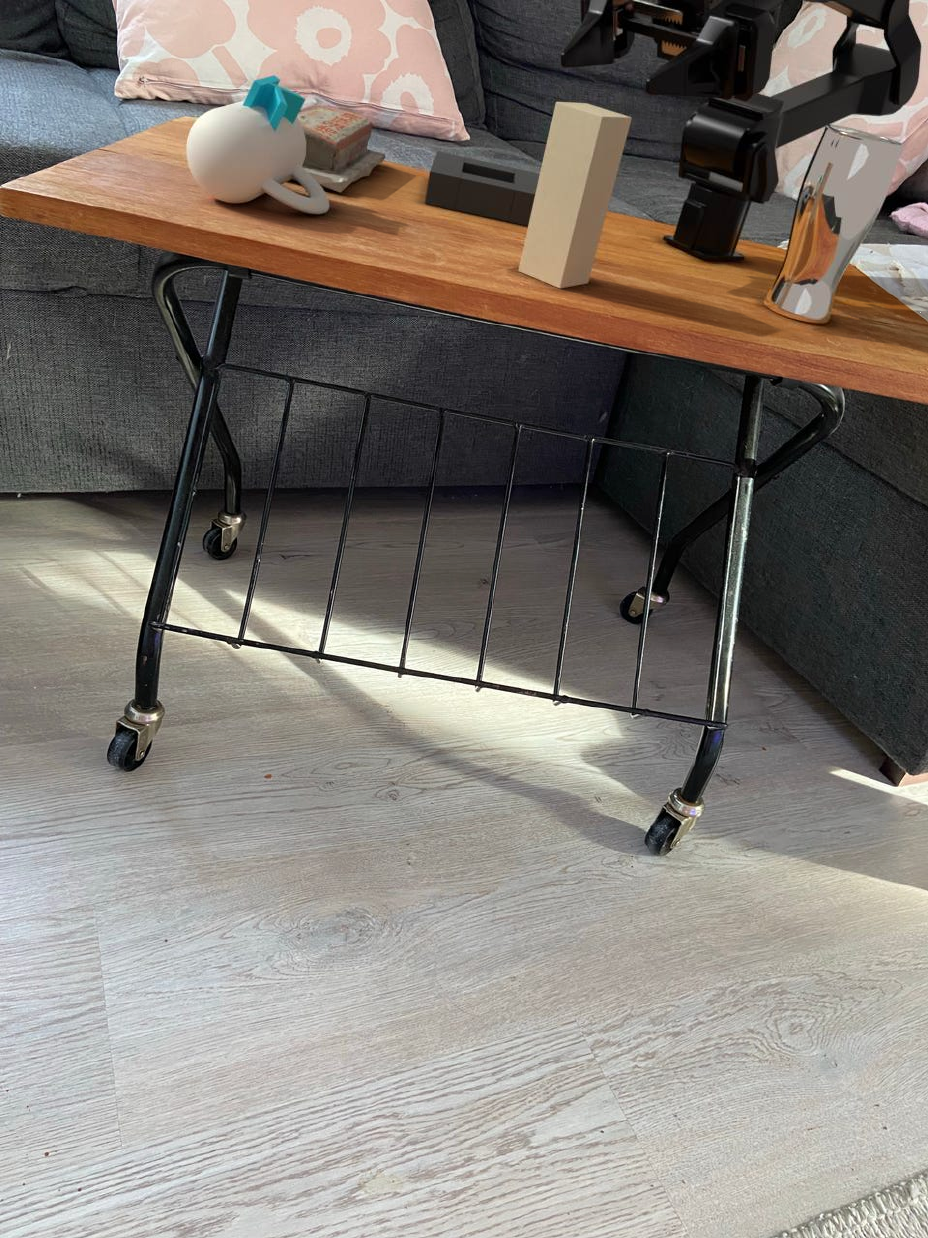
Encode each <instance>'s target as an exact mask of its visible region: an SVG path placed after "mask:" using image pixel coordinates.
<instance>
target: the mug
mask: <svg viewBox="0 0 928 1238" xmlns="http://www.w3.org/2000/svg"><path fill="white" fill-rule="evenodd" d="M280 82H281V79H280V78H279V77H278V76H276V75H275V74H274V75H270V76H266V77H263V78H259V79H255V80H254V81H253V82H252V84H251V87H250V89H249V91H248V92H247V95H246V97H245V99H244V100H242V101H238V102H234V103H230V104H227V105H224V106H223V105H222V106H220V107H219V106H218V107H215V108H212V109H209V110H207V111H206V112H204V113H203V114H201V116H199V117H198V118H197V119H196V121H194V123H193V125H191V128H190V130H189V133H188V136H187V140H186V147H185V148H186V149H185V150H186V152H185V153H186V160H187V164H188V167H189V170H190V172H191V175H192V177H193V178H194V180H195V182H196V183H197V185H199V187H200V188H201V189H202V190H203V191H204V192H206V194H208V195H209V196H211V197H212V198H214V199H216V200H218V201H220V202H223V203H226V204H227V203H228V204H243V203H247V202H250V201H252V200H255V199H256V198H258V197H260V196H262V195H264V194H267V195H269V196H270V197H271V198H273V199H275V200H277V201H278V202H280V203H282V204H283V205H286V206H287V207H290V208H292V209H294V210H296V211H299V212H303V213H306V214H310V215H322V214H326V213H327V212H328V211H329V209H330V200H329V197H328V196H327V194H326V192H325V190H324V188H322V187H321V186H320V185H319V183H318V182H317V181H316V180H315V179H314V178H313V177H312V176H311V175H310V174H309V173H308V172H307V171H306V170H305V169H304V168H303V167H302V165H303V162H304V159H305V156H306V139H305V134H304V130H303V127H302V125H301V123H300V121H299V120H298V118H297V115H298V113H299V112H300V111H301V110H302V108H303V106H304V103H305V102H306V99H305V97H303V96H302V95H301V94H299V93H297V92H295V91H292V90H290V89H288V88H285V87H283V86H281V85H279V84H280ZM292 178H294V179H295V180H296V181H295V180H294V181H295V182H297V183H299V184H300V185H301V187H303V189H304V191H306V193H307V195H308V196H309V197H307V196H304V195H301V194H298V193H297V192H295V191H292V190H291V189H288V188H286V187H285V186H283V184H285V183H287V182H289V181H291V179H292Z"/></svg>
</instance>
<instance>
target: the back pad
mask: <svg viewBox="0 0 928 1238" xmlns="http://www.w3.org/2000/svg"><path fill="white" fill-rule="evenodd" d="M632 120H633V119H632V117H631V116H628V115H625V114H622V113H619V112H616V111H612V110H609V109H606V108H603V107H601V106H596V105H594V104H591V103H586V102H572V101H571V102H570V101H569V102H567V101H556V102H555V105H554V109H553V114H552V117H551V123H550V128H549V132H548V136H547V140H546V144H545V150H544V154H543V159H542V164H541V167H540V172H539V174H540V176H539V181H538V185H537V190H536V194H535V199H534V203H533V207H532V212H531V216H530V221H529V225H528V226H527V230H526V234H525V239H524V244H523V248H522V253H521V258H520V262H519V266H518V272H519V273H522V274H524V275H526V276H529V277H531V278H534V279H536V280H538V281H540V282H543V283H546V284H548V285H550V286H552V287H554V288H557V289H565V288H569V287H575V286H580V285H586V284H589V281H590V277H591V275H592V274H591V273H592V270H593V265H594V263H595V259H596V256H597V255H596V254H597V251H598V248H599V243H600V240H601V236H602V232H603V228H604V224H605V222H606V221H605V220H606V218H607V214H608V210H609V205H610V202H611V198H612V194H613V190H614V187H615V183H616V179H617V175H618V172H619V168H620V164H621V160H622V156H623V152H624V149H625V145H626V143H627V142H626V141H627V137H628V134H629V130H630V127H631V123H632Z"/></svg>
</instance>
